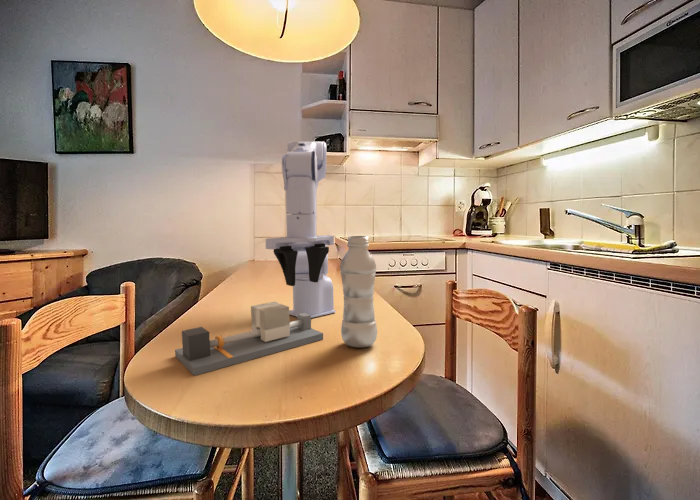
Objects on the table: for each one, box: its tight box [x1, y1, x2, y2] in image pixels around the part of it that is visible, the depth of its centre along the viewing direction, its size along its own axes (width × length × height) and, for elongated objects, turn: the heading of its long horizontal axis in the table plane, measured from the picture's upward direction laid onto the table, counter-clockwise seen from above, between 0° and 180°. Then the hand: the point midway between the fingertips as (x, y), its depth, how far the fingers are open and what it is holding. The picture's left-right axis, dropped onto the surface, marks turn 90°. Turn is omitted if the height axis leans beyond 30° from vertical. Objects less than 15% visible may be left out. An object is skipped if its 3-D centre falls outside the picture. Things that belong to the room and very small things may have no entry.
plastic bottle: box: [339, 235, 378, 348], centre depth 66 cm, size 6×7×20 cm
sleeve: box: [250, 301, 291, 342], centre depth 68 cm, size 5×5×6 cm
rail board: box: [174, 313, 324, 377], centre depth 66 cm, size 24×10×5 cm, turn 130°
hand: (302, 283), depth 72 cm, fingers open, 5 cm apart
